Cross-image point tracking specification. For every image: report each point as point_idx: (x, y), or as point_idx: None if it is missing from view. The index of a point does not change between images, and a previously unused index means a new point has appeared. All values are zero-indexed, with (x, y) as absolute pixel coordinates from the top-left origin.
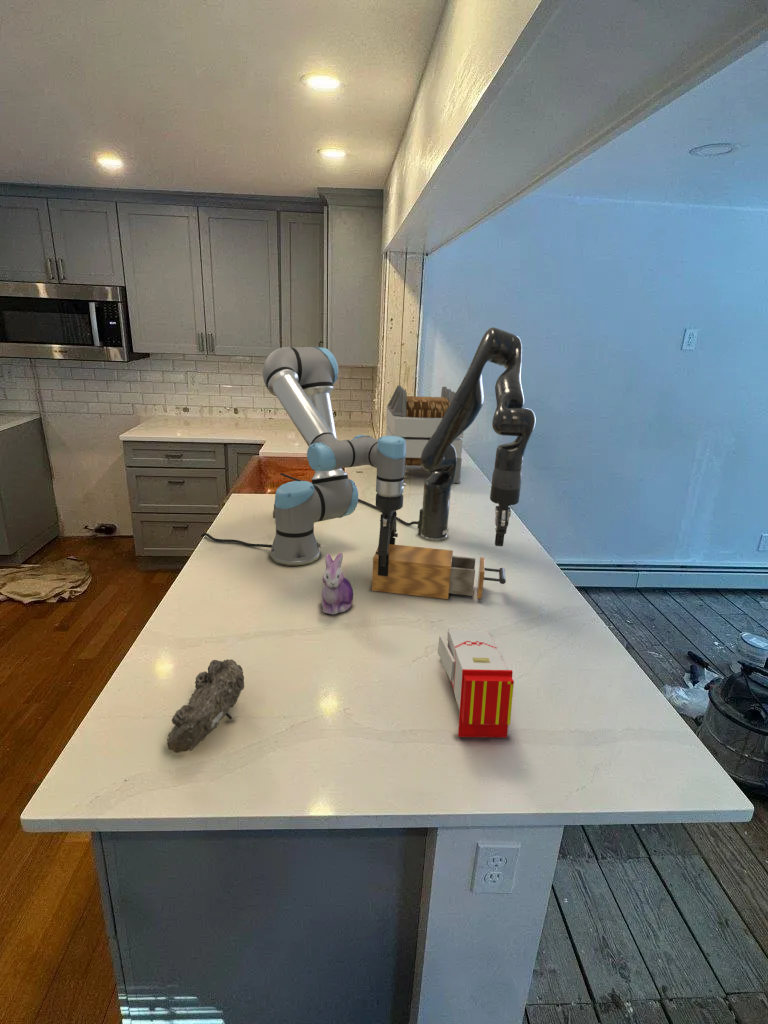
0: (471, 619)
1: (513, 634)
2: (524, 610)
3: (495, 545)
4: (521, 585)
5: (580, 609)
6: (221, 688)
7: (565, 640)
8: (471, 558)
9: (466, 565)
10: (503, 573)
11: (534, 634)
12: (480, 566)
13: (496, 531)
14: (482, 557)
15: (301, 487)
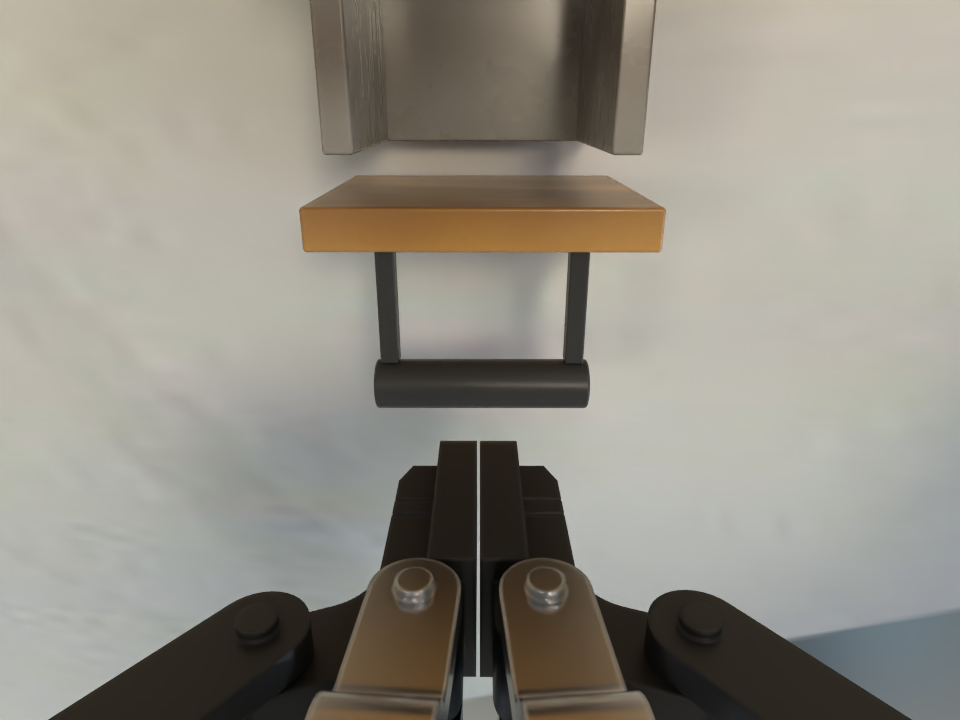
0: (104, 139)
1: (47, 384)
2: (342, 452)
3: (441, 443)
4: (660, 455)
5: None
6: None
7: (111, 603)
8: (627, 107)
9: (602, 60)
10: (477, 400)
11: (100, 483)
12: (422, 211)
13: (238, 623)
14: (659, 231)
15: None
